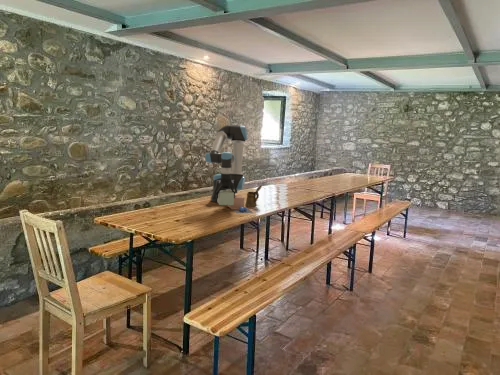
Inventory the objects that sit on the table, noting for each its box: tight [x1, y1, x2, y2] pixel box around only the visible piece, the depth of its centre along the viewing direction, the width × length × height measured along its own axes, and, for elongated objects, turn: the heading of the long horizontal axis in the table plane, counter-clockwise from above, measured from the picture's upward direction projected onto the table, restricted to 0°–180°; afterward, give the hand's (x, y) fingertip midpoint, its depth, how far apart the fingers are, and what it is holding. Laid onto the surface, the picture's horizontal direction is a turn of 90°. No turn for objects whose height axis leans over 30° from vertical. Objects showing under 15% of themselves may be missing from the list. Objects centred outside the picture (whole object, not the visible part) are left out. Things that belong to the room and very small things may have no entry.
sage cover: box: [217, 189, 234, 206], centre depth 282 cm, size 10×10×9 cm
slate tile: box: [231, 208, 254, 214], centre depth 283 cm, size 13×13×1 cm
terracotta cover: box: [227, 195, 245, 210], centre depth 295 cm, size 10×10×9 cm
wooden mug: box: [244, 185, 262, 207], centre depth 304 cm, size 9×14×18 cm, turn 61°
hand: (225, 202), depth 282 cm, fingers closed on sage cover, 10 cm apart
